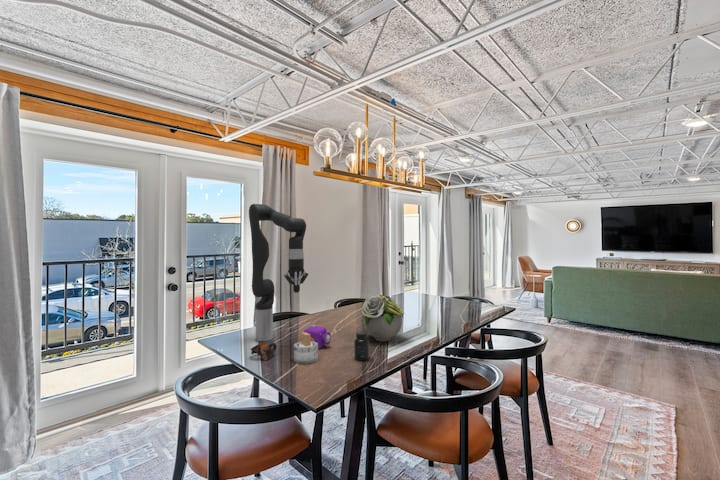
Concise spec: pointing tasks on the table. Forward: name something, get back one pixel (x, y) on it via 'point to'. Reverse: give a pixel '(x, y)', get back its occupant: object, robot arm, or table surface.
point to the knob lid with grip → (305, 340)
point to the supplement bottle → (361, 346)
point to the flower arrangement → (382, 317)
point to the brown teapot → (265, 348)
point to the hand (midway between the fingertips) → (296, 292)
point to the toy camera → (319, 335)
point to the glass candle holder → (305, 353)
